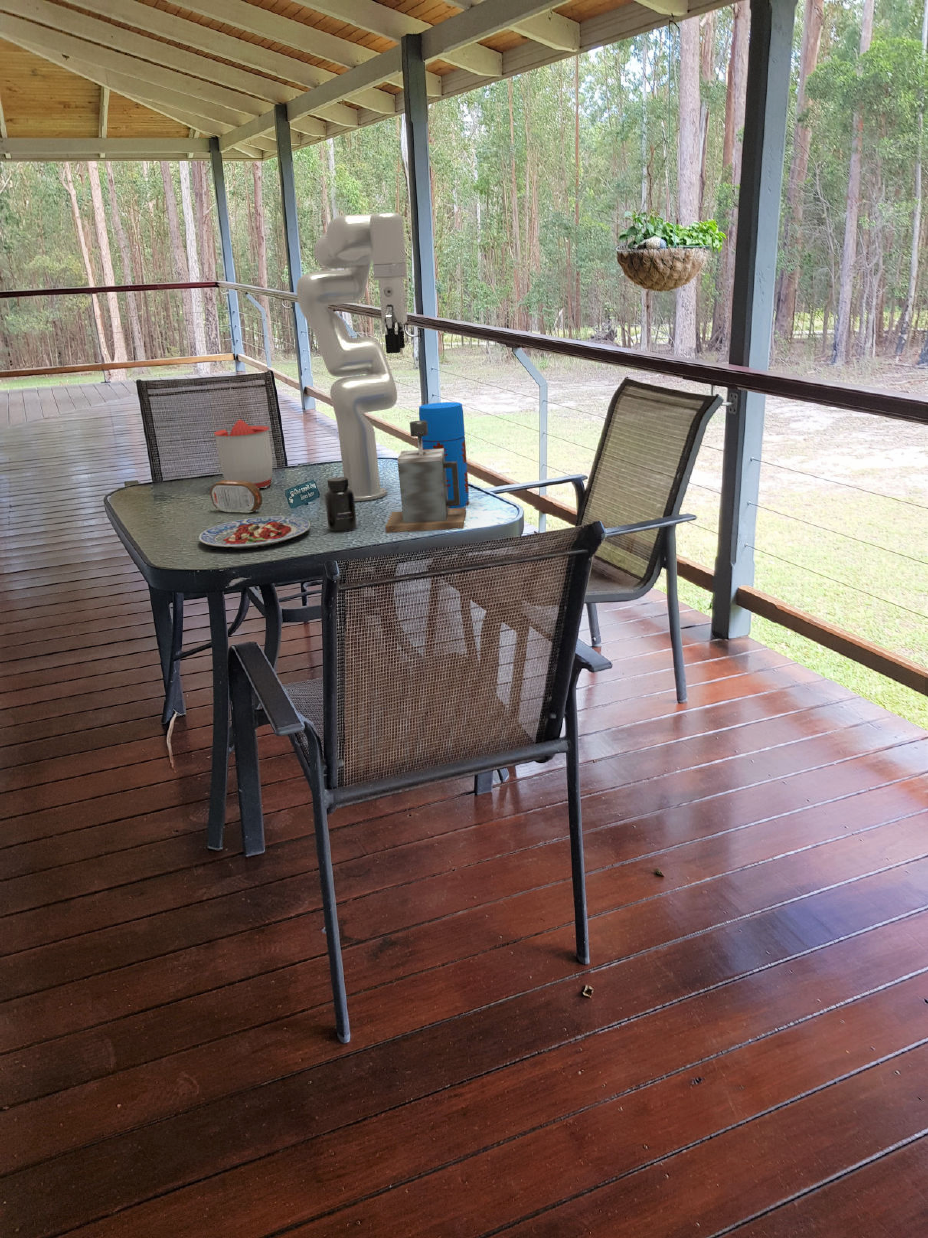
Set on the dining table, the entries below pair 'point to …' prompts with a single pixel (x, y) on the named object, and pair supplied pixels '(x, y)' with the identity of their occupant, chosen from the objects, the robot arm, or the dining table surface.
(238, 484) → the tin
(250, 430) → the citrus juicer
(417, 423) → the grey rod with knob
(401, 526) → the stand
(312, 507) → the dining table surface
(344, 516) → the supplement bottle
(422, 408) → the thermos
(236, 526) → the ceramic plate
